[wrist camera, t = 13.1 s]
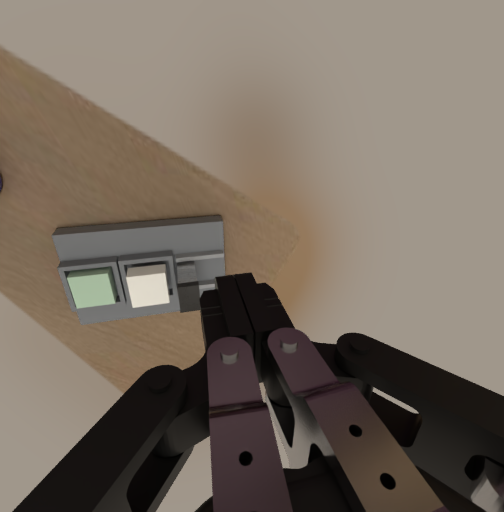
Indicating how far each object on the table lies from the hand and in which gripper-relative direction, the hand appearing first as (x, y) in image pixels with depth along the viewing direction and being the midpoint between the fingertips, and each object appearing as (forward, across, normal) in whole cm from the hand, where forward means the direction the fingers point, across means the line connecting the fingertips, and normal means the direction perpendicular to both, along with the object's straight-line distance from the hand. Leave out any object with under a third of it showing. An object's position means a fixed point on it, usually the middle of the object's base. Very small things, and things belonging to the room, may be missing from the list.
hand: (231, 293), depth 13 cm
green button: (+23, +12, +12) cm, 28 cm away
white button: (+22, +6, +12) cm, 25 cm away
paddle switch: (+23, +2, +12) cm, 26 cm away
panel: (+25, +6, +12) cm, 28 cm away
